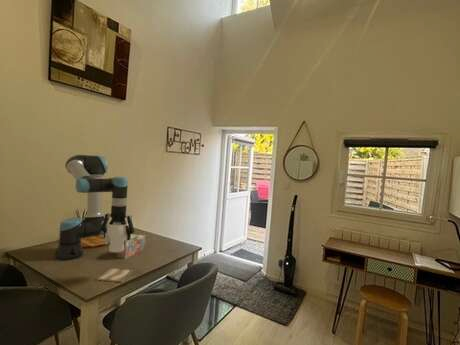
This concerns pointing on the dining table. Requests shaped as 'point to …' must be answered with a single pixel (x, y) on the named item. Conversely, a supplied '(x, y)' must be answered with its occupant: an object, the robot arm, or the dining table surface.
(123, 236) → the cup
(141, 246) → the stack of blocks
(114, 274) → the picture frame
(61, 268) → the dining table surface
